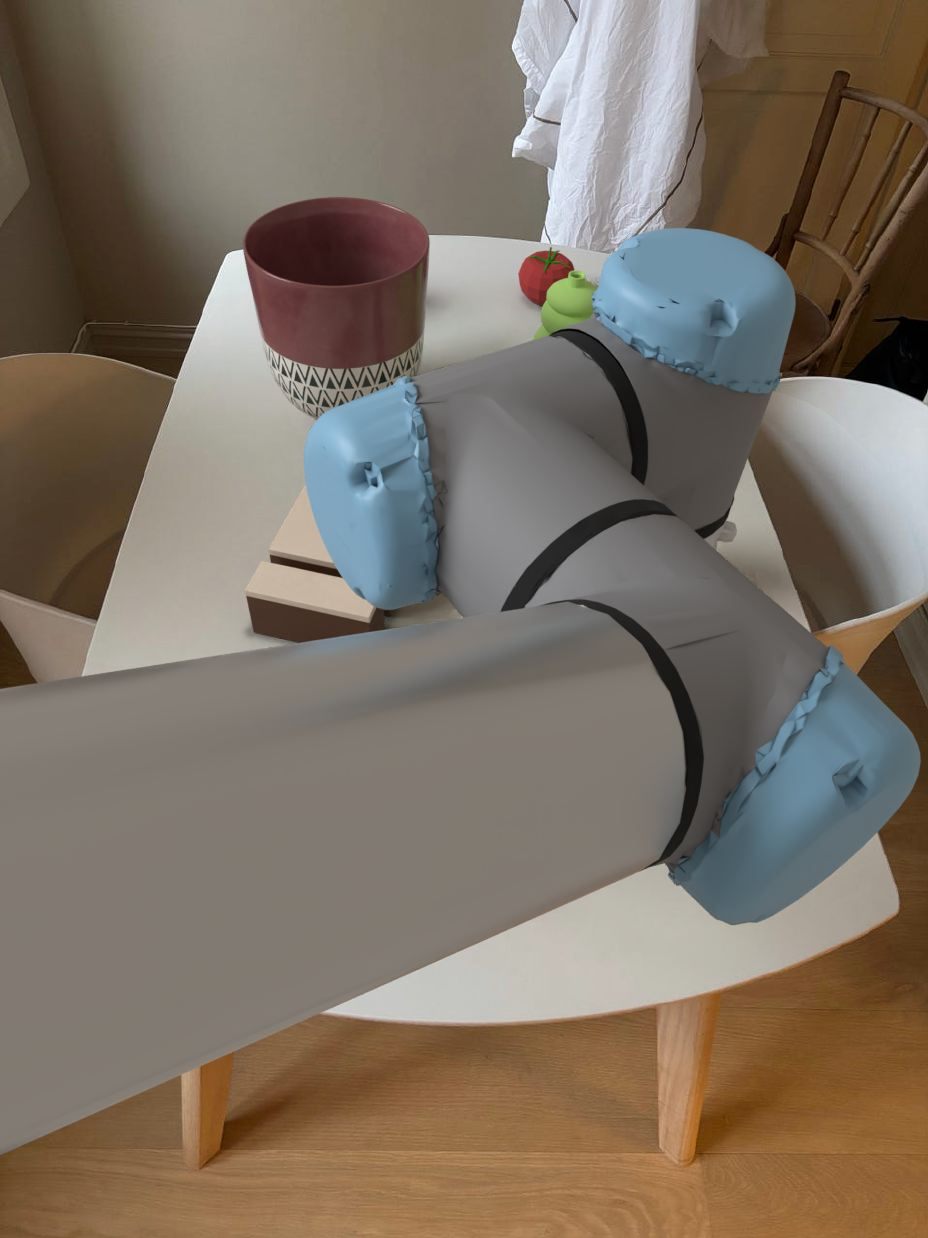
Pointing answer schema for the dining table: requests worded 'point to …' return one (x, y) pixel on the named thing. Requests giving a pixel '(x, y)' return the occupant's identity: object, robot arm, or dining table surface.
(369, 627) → the cake slice
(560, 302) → the green piece
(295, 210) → the planter
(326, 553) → the cake
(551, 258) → the tomato
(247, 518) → the dining table surface
